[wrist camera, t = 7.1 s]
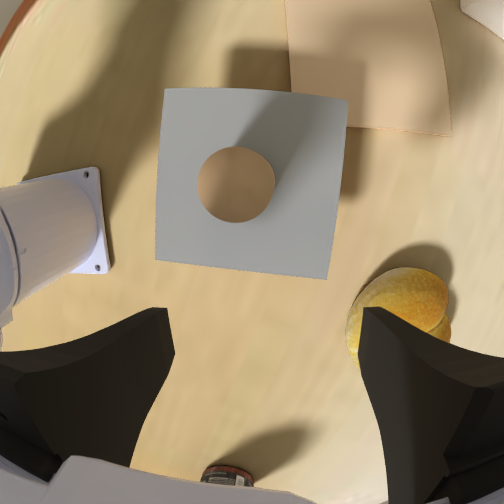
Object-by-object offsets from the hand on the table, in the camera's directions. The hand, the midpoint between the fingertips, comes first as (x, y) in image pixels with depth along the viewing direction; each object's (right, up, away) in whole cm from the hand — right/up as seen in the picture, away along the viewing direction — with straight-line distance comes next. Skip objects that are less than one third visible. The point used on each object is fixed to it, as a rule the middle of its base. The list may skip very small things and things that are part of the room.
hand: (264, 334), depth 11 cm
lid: (-1, +7, +4) cm, 8 cm away
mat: (+7, +16, +5) cm, 18 cm away
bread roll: (+11, -2, +10) cm, 15 cm away
